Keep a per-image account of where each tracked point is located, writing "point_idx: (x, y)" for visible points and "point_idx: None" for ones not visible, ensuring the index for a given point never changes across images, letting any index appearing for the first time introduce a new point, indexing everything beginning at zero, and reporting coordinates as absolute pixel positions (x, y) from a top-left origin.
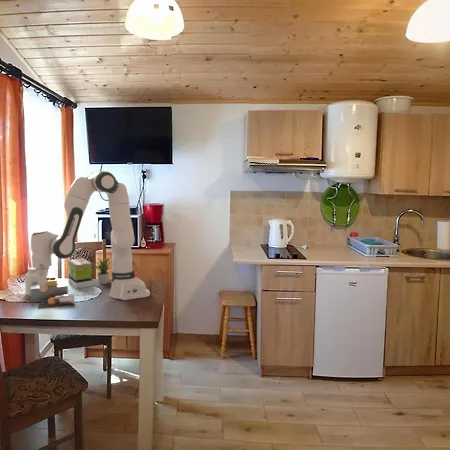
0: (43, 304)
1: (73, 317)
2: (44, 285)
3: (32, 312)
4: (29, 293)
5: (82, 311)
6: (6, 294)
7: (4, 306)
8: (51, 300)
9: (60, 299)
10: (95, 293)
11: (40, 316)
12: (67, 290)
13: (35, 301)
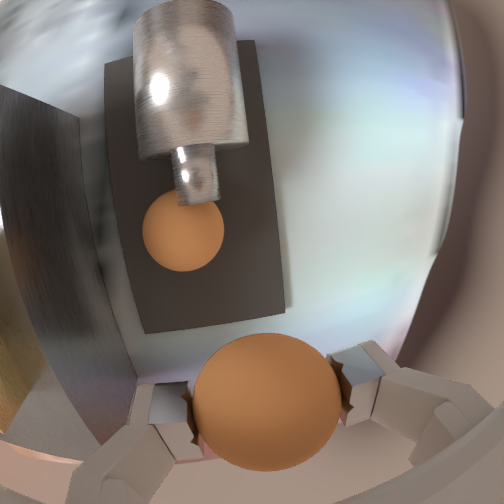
0: (175, 297)
1: (437, 76)
2: (452, 389)
3: (325, 328)
4: None
5: (355, 12)
6: (40, 455)
7: (189, 462)
8: (219, 230)
9: (244, 129)
10: (6, 11)
11: (405, 259)
12: (28, 97)
13: (124, 363)
